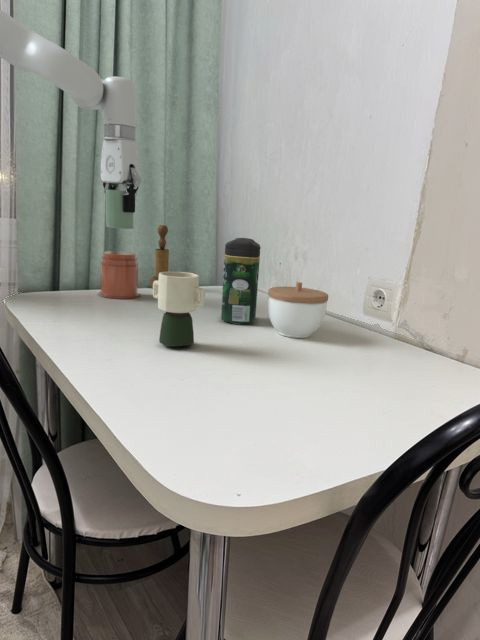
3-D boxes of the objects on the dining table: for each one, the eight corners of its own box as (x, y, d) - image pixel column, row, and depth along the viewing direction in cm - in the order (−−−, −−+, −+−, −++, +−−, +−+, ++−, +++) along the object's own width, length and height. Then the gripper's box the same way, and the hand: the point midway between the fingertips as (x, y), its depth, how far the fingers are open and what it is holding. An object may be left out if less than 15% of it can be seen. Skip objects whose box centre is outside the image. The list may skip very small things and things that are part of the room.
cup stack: (92, 293, 132) (92, 250, 129) (124, 290, 139) (125, 250, 136) (113, 300, 126) (113, 255, 123) (146, 297, 133) (146, 255, 130)
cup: (100, 226, 128) (100, 188, 125) (124, 226, 133) (124, 190, 130) (115, 228, 123) (115, 190, 121) (139, 229, 128) (139, 192, 126)
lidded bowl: (261, 325, 113) (266, 276, 110) (316, 328, 115) (322, 280, 112) (268, 339, 101) (273, 285, 98) (329, 343, 103) (336, 289, 100)
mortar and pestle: (145, 287, 148) (146, 223, 143) (156, 284, 154) (158, 223, 149) (165, 290, 146) (167, 226, 141) (176, 287, 152) (178, 225, 147)
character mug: (212, 346, 93) (216, 276, 90) (190, 355, 87) (194, 280, 83) (163, 336, 97) (165, 268, 94) (140, 343, 91) (141, 271, 88)
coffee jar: (223, 314, 121) (228, 235, 116) (256, 317, 121) (262, 238, 116) (218, 323, 111) (223, 237, 106) (253, 326, 111) (260, 241, 106)
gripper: (87, 133, 125) (88, 208, 130) (127, 131, 114) (127, 213, 119) (114, 138, 130) (114, 209, 135) (154, 136, 119) (153, 214, 124)
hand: (120, 210), depth 127 cm, fingers closed on cup, 6 cm apart
